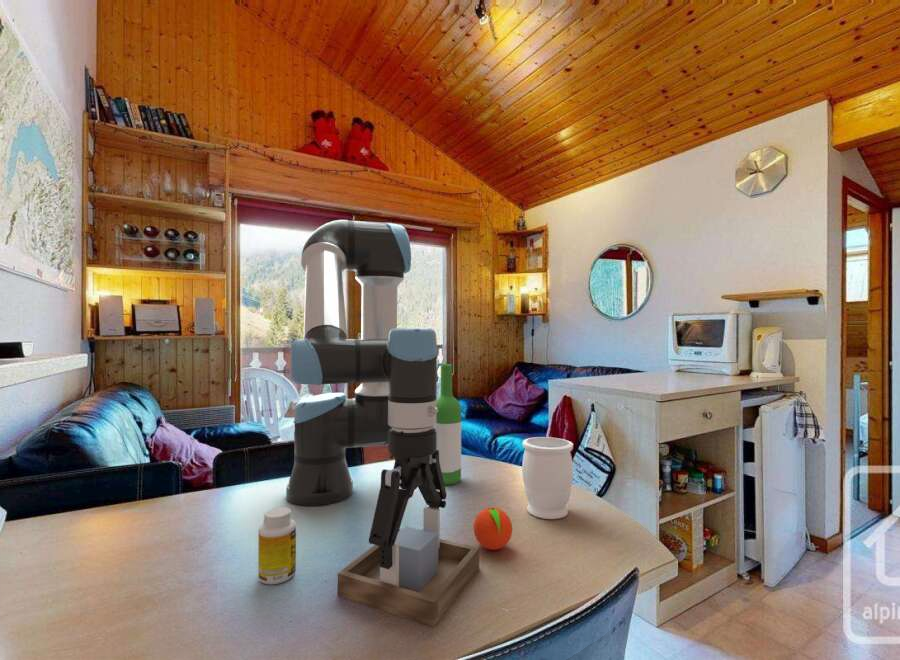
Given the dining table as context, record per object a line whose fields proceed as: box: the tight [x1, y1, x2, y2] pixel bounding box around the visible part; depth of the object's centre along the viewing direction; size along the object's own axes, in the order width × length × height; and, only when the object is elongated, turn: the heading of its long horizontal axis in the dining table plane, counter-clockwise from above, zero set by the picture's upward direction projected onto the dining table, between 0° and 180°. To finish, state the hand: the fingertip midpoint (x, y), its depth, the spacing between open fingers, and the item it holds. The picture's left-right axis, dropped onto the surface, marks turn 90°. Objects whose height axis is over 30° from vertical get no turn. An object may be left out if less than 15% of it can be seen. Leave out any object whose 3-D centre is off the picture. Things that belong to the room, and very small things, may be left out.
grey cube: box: [395, 525, 438, 592], centre depth 69 cm, size 6×6×6 cm
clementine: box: [473, 507, 513, 551], centre depth 79 cm, size 8×7×7 cm
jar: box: [521, 436, 574, 520], centre depth 95 cm, size 11×10×15 cm
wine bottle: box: [433, 363, 462, 486], centre depth 114 cm, size 8×8×30 cm
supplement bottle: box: [257, 506, 297, 585], centre depth 70 cm, size 6×6×10 cm
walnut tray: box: [337, 529, 480, 628], centre depth 69 cm, size 16×16×3 cm
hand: (412, 565), depth 69 cm, fingers open, 12 cm apart
